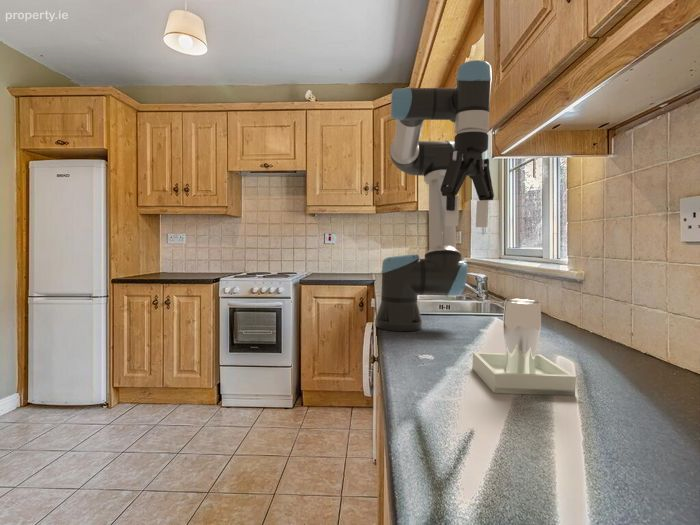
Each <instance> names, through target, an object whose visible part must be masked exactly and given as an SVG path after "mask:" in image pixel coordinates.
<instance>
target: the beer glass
mask: <svg viewBox="0 0 700 525" xmlns="http://www.w3.org/2000/svg"><path fill="white" fill-rule="evenodd" d="M541 304H542V303H541V301H538V300H533V299H525V298H524V299H523V298H521V299H520V298H509V299H508V298H507V299H505V300H504V309H503V316H502V329H503V330H502V331H503V340H504V346H505V354H506V363H505V367H504V371H503V373H518V374H536V371H535V354H536V352H537V348H538V345H539V344H538V343H539V340H540V336H541V330H542V329H541V328H542V308H541V307H542V306H541Z"/></svg>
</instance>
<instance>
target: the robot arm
mask: <svg viewBox="0 0 700 525" xmlns="http://www.w3.org/2000/svg"><path fill="white" fill-rule="evenodd" d="M456 72H457V73H456V78H455V80H456V86H455V87H410V86H409V87H408V86H407V87H405V88H403V87H402V88H394V89H393V90H392V91H391V97H390V117H391V119H393V120H396V124H395V133H394V137H393V138H394V139H393V141H391V142H392V143H391V144H390V147H389V156H390V157H389V158H390V159H391V161H392V164H393V165H394V166H395V167H396V168H397V169H398V170H399V171H401V172H403V173H404V174H407V175H411V176H423V180H424V183H426V184H427V185H428V222H429V223H428V228H429V229H428V240H429V242H428V245H429V249H428V250H427V251H426V252H425V253H424V258H420V256H419V254H418V253H416V254H405V255H397V256H396V255H394V256H389V257H386V258H384V259H383V261H382V266H381V290H380V292H381V297H380V298H381V299H380V305H379V307H378V310H377V313H376V316H375V321H374V323H375V324H374V325H375V327H376V328H378V329H381V330H385V331H391V332H392V331H393V332H414V331H419V330H422V329H423V319H422V316H421V312H420V308H419V305H418V296H436V297H437V296H440V297H441V296H443V297H444V296H445V297H450V296H451V297H455V296H457V297H458V296H460V295H461V294H462V293H463V292H464V290H465V286H466V283H467V282H466V281H467V277H468V269H469V268H468V261H467V260H466V259H463V258H462V252H460V251H459V250H458V249H457V234H456V233H457V232H456V231H457V230H456V227H459V220H460V219H459V216H460V196H459V195H458V193H459V192H460V189H462V188H461V187H462V186H463V184H464V182H465V180H466V178H467V176H468V178H470V179H471V180H472V183H473V186H474V188H475V191H476V195H477V197H478V200H476V212H475V213H476V215H475V228H488V224H489V205H490V204H489V202H490V201H493V200H494V197H495V195H494V194H495V193H494V189H493V183H492V177H491V176H492V175H491V171H490V159H489V158H487V157H486V158H483V155H482V154H483V153H484V152H486V151H488V149H489V133H488V132H489V131H490V109H491V94H492V93H491V90H492V89H491V88H492V81H493V78H492V65H491V64H490V63H489V62H488V61H485V60H479V59H478V60H475V59H474V60H468V61H466V62H463V63H462V64H460V65H459V66H458V67H457V71H456ZM425 120H426V121H427V120H428V121H429V120H431V121H432V120H433V121H434V120H435V121H447V120H448V121H450V122H452V123H453V124H454V133H455V135H454V141H449V140H444V141H437V140H435V141H434V140H433V141H432V140H431V141H429V140H428V141H427V140H426V141H425V140H423V141H422V140H421V141H420V138H421V134H422V130H423V127H424V123H425Z"/></svg>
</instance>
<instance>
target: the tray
mask: <svg viewBox="0 0 700 525" xmlns="http://www.w3.org/2000/svg"><path fill="white" fill-rule="evenodd" d="M505 363H506V353H497V352H495V353H494V352H472V370H473V371H474V372H475V373H476V374H477V375H478V376H479V378H480V379H481V380H482V381H483V383H485V384H486V386H487V387H488V388H489V389H490V390H491V391H492V392H493V393H494V394H511V395H512V394H513V395H514V394H517V395H518V394H519V395H541V396H542V395H544V396H545V395H546V396H547V395H548V396H576V386H577V385H576V384H577V383H576V382H577V376H576V375H574V374H573V373H571V372H569V371H568V370H567V369H565V368H563V367H562V366H560V365H558V364H556V363H555V362H553V361H552V360H550V359H548V358H547V357H545V356H544V355H542V354H536V353H535V371H536V374H518V373H503V371H504V367H505Z"/></svg>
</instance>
